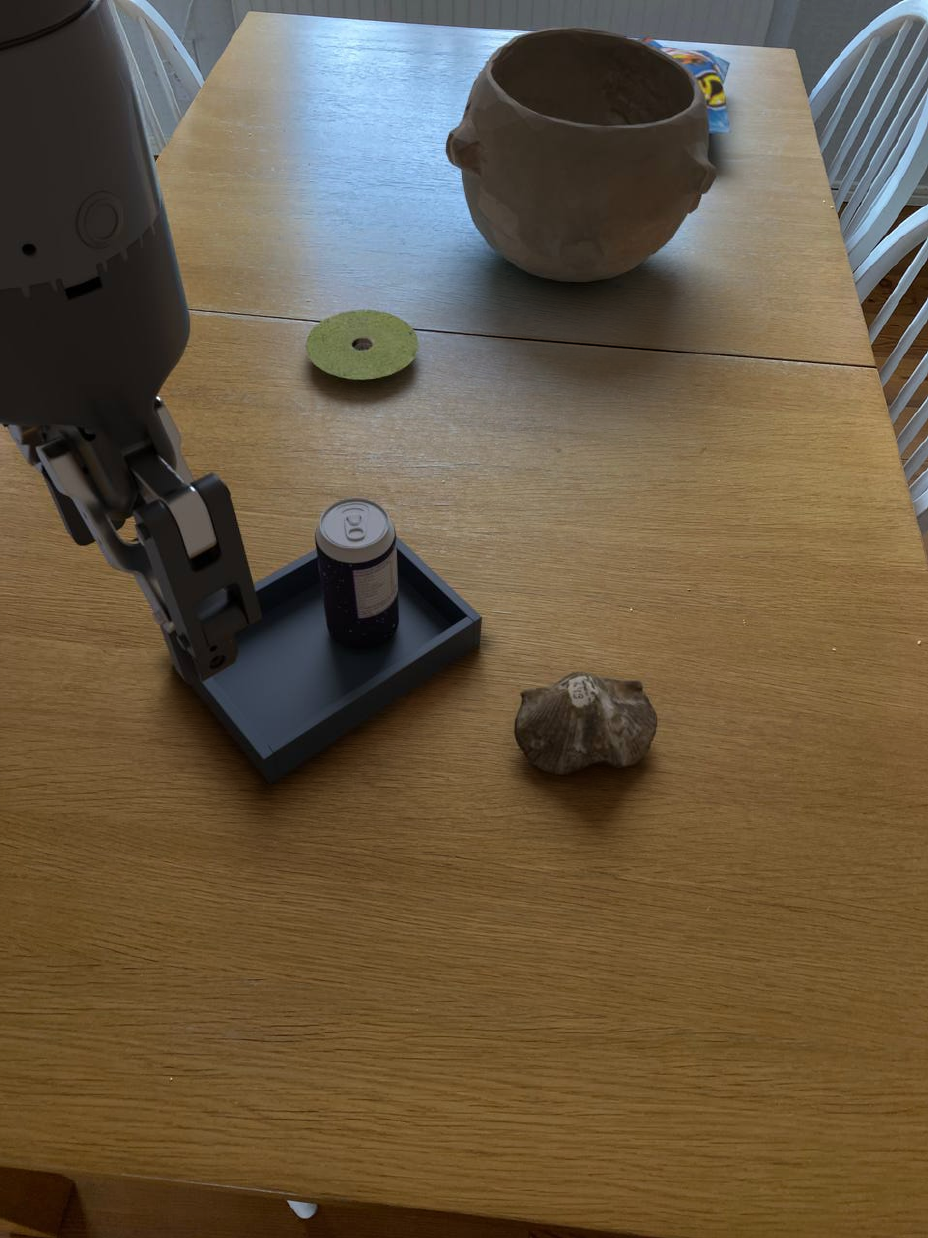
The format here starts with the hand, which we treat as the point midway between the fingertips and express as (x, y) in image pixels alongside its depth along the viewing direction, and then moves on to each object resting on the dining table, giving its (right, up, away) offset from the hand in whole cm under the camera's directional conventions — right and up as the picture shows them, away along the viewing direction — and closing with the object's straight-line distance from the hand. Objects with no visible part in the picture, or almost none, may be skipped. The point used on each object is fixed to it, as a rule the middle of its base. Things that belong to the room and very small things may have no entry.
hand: (152, 596), depth 37 cm
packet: (+39, +67, +94) cm, 122 cm away
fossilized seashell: (+21, -10, +34) cm, 41 cm away
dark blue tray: (+1, -4, +38) cm, 38 cm away
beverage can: (+4, -2, +39) cm, 39 cm away
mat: (+2, +25, +61) cm, 66 cm away
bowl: (+24, +41, +73) cm, 87 cm away
